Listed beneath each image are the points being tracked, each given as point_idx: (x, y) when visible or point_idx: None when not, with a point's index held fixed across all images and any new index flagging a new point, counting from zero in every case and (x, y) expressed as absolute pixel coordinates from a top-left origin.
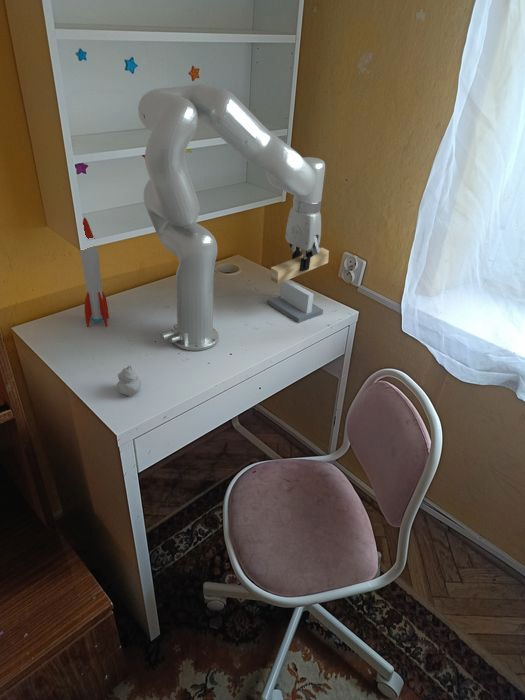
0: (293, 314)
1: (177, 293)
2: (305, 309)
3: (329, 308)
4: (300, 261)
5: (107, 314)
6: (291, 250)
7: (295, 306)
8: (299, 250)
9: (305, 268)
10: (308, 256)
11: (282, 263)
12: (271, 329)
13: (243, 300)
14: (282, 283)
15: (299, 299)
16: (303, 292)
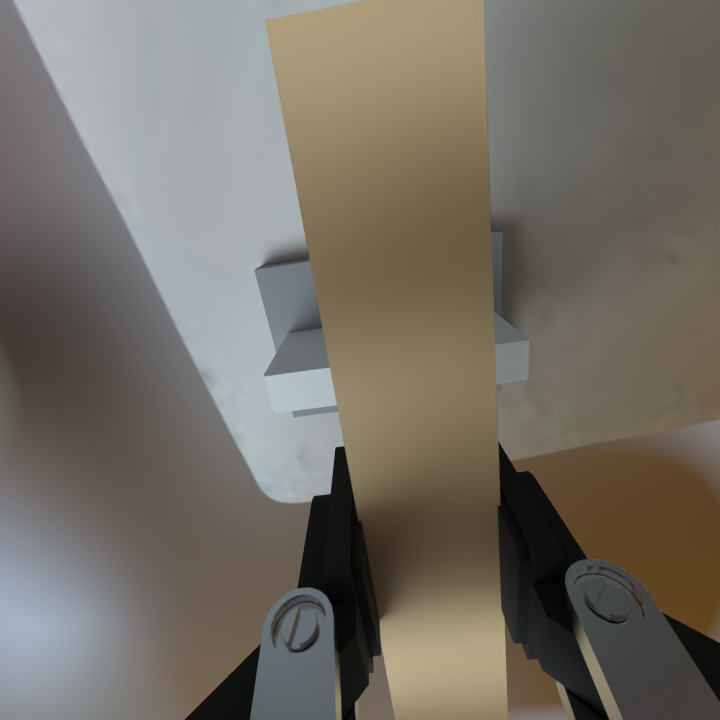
0: (301, 267)
1: None
2: (294, 337)
3: (329, 453)
4: (376, 525)
5: None
6: (641, 597)
7: None
8: (553, 675)
9: (314, 497)
10: (234, 682)
11: (481, 287)
12: (243, 78)
13: (612, 107)
14: (514, 334)
15: None
16: (312, 370)
